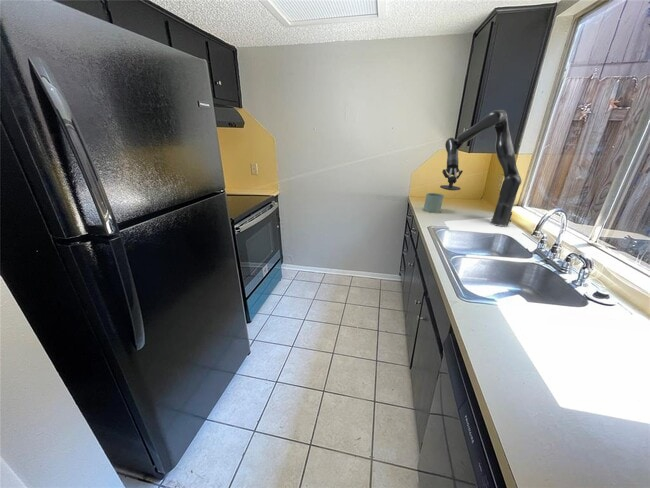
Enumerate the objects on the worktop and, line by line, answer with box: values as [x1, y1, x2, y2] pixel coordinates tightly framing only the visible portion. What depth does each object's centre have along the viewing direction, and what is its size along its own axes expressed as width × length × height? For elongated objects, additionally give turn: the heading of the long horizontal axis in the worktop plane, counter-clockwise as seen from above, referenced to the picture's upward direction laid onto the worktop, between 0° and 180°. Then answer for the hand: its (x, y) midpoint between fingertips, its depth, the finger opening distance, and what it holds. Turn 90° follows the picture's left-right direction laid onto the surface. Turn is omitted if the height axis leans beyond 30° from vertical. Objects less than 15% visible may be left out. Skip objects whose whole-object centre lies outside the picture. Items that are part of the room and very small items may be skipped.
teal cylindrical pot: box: [423, 192, 445, 214], centre depth 201 cm, size 12×12×12 cm
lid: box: [439, 175, 461, 191], centre depth 181 cm, size 13×13×9 cm
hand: (452, 182), depth 179 cm, fingers closed on lid, 2 cm apart
